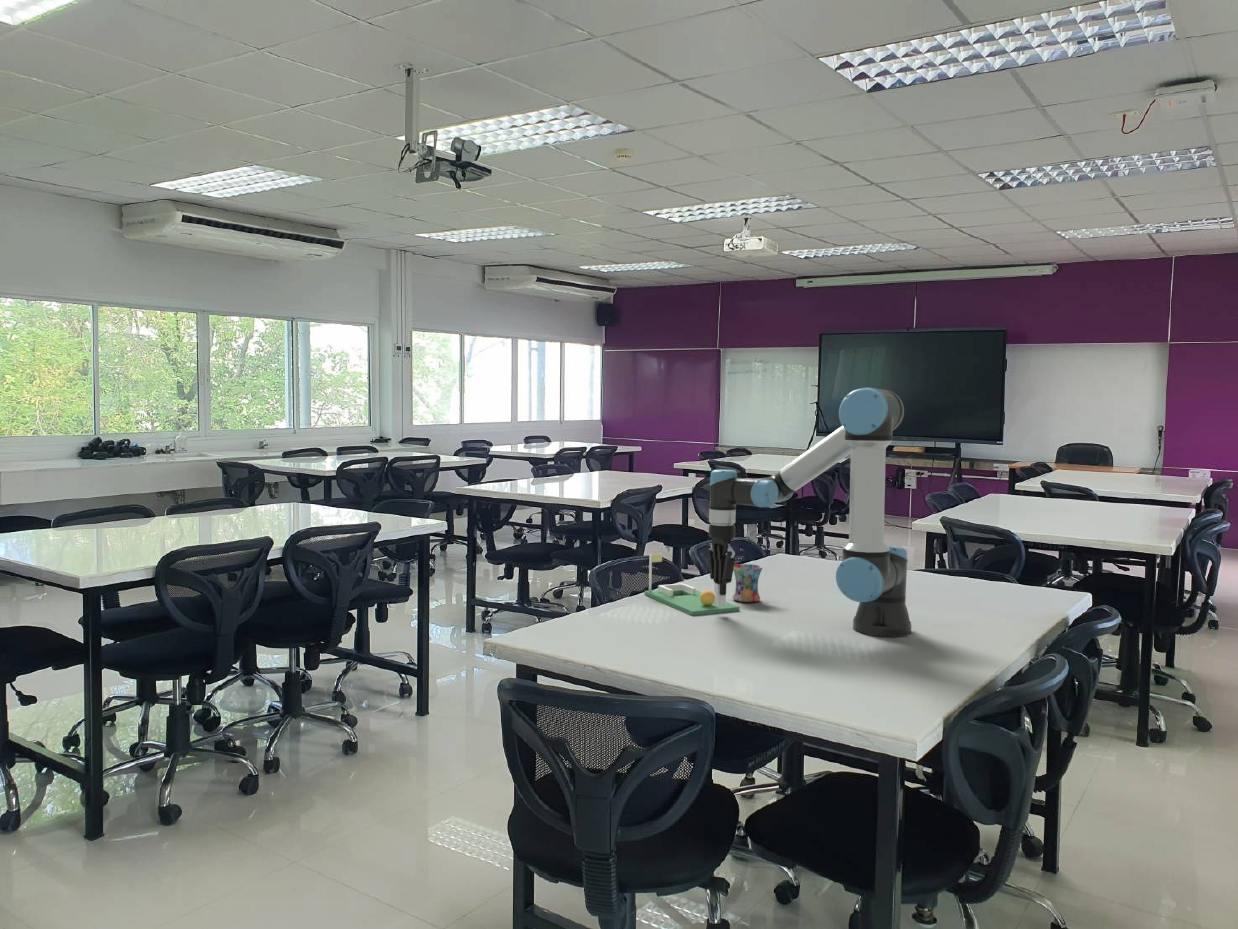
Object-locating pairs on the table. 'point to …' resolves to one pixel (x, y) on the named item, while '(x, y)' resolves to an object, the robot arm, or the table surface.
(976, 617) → the table surface
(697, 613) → the green
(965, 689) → the table surface
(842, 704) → the table surface
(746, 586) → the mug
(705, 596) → the ball
